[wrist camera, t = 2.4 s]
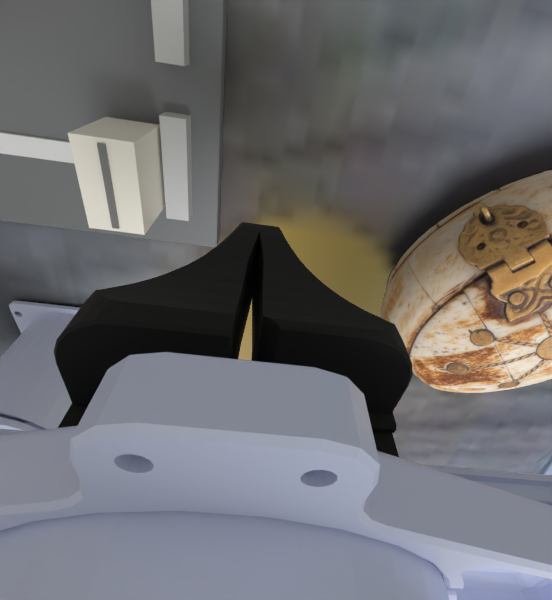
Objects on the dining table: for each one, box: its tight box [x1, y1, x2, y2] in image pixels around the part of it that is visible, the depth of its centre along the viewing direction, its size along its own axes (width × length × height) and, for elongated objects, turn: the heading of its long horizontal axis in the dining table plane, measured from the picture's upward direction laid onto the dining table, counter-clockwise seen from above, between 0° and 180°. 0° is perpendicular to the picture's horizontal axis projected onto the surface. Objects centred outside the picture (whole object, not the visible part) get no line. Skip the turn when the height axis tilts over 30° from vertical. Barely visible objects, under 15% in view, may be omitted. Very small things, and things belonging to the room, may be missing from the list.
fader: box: [68, 117, 166, 235], centre depth 15 cm, size 4×2×4 cm, turn 172°
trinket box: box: [381, 170, 552, 393], centre depth 19 cm, size 13×15×8 cm
